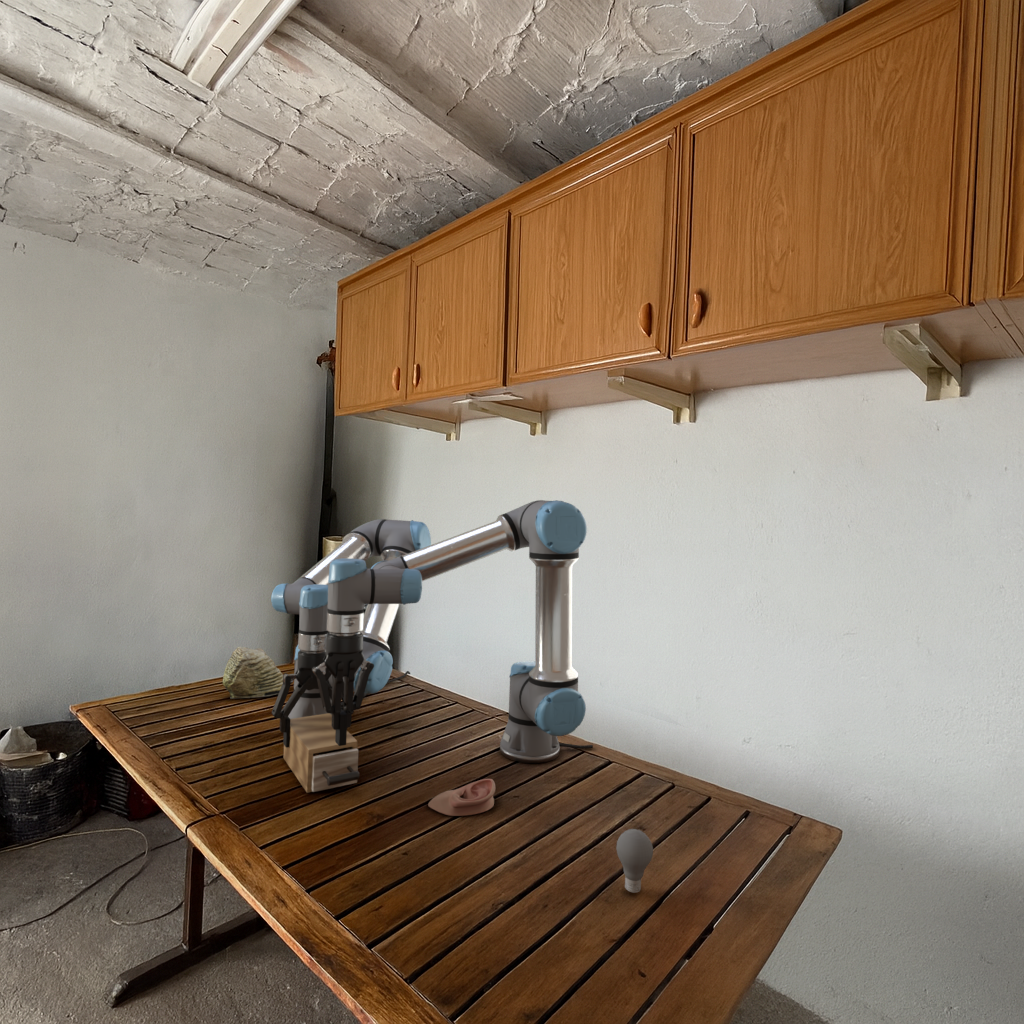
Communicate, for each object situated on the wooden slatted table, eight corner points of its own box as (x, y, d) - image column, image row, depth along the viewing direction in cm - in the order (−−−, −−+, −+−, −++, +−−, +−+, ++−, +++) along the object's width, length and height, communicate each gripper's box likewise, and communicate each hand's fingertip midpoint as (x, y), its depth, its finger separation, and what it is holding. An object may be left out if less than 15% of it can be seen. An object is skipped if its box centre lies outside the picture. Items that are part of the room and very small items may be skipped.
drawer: (366, 793, 134) (367, 759, 134) (320, 803, 129) (322, 768, 129) (330, 751, 155) (331, 722, 155) (290, 759, 149) (291, 728, 149)
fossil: (218, 695, 195) (220, 647, 195) (278, 685, 208) (279, 640, 207) (228, 703, 189) (230, 653, 188) (289, 692, 201) (290, 645, 201)
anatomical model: (423, 792, 129) (441, 769, 140) (422, 812, 129) (440, 787, 140) (487, 801, 126) (499, 777, 137) (486, 821, 126) (498, 795, 137)
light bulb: (610, 879, 108) (613, 822, 108) (644, 879, 109) (647, 822, 109) (619, 902, 102) (622, 840, 102) (655, 901, 103) (658, 840, 103)
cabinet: (355, 782, 141) (357, 741, 141) (306, 793, 135) (308, 749, 135) (328, 749, 158) (329, 713, 158) (283, 758, 152) (284, 719, 152)
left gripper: (267, 658, 142) (263, 755, 143) (366, 648, 155) (363, 738, 155) (259, 651, 148) (256, 744, 149) (356, 642, 161) (352, 728, 162)
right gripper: (319, 638, 127) (314, 755, 127) (380, 633, 134) (376, 744, 134) (308, 631, 133) (304, 742, 133) (368, 626, 140) (364, 732, 141)
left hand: (311, 741), depth 152 cm, fingers closed on cabinet, 11 cm apart
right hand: (340, 743), depth 134 cm, fingers closed
